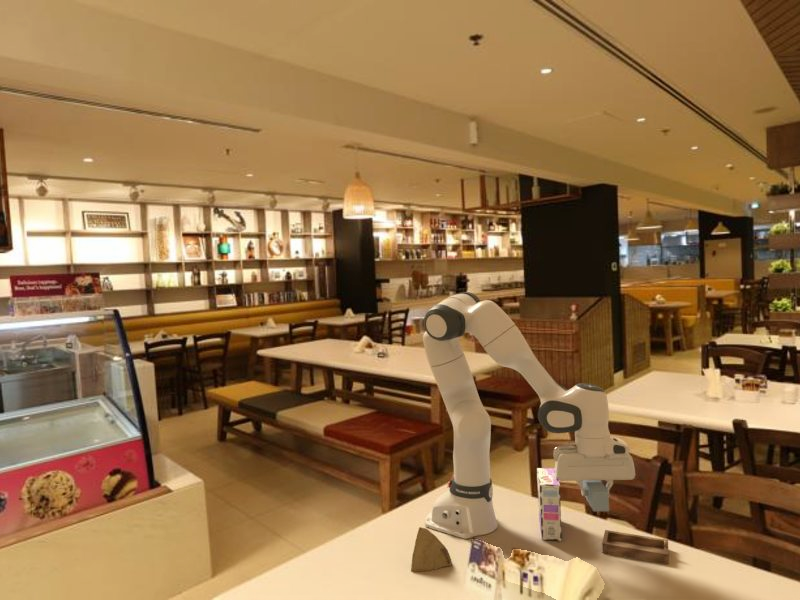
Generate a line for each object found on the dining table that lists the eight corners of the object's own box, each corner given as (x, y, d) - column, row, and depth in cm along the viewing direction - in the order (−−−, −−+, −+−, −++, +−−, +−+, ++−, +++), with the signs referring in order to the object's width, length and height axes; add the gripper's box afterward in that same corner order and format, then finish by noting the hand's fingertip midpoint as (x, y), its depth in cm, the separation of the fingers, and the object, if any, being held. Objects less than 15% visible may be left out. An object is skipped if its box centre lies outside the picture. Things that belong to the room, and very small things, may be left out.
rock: (458, 549, 143) (424, 538, 148) (454, 534, 138) (419, 523, 142) (445, 589, 136) (410, 576, 140) (440, 575, 131) (404, 562, 135)
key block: (593, 511, 134) (592, 492, 134) (582, 491, 146) (581, 474, 146) (609, 511, 134) (608, 492, 134) (597, 491, 146) (596, 474, 146)
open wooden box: (602, 552, 142) (601, 537, 142) (605, 538, 149) (604, 524, 149) (668, 564, 135) (668, 548, 134) (668, 549, 142) (667, 534, 142)
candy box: (562, 541, 149) (560, 485, 148) (541, 540, 150) (539, 484, 149) (558, 519, 162) (555, 467, 161) (538, 518, 163) (536, 466, 163)
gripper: (554, 449, 138) (557, 500, 138) (635, 447, 135) (638, 499, 136) (550, 441, 144) (553, 490, 144) (628, 439, 141) (630, 489, 142)
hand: (595, 495), depth 140 cm, fingers closed on key block, 4 cm apart
